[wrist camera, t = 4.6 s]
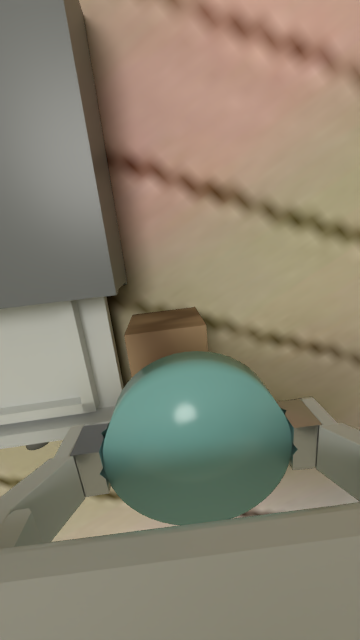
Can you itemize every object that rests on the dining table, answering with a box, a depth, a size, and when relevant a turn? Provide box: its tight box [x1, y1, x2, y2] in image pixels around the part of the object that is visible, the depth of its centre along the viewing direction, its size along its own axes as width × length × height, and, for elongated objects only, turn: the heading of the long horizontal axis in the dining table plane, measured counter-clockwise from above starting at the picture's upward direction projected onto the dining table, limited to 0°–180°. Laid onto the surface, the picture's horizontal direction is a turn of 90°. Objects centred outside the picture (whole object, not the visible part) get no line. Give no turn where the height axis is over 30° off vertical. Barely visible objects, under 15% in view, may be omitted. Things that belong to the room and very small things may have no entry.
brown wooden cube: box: [124, 307, 208, 377], centre depth 18 cm, size 5×5×5 cm
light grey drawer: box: [0, 296, 124, 450], centre depth 18 cm, size 17×17×4 cm
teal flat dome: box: [103, 351, 292, 525], centre depth 9 cm, size 6×6×2 cm
